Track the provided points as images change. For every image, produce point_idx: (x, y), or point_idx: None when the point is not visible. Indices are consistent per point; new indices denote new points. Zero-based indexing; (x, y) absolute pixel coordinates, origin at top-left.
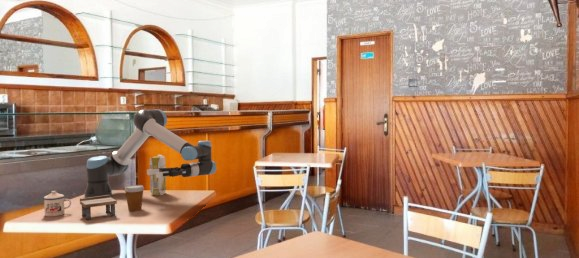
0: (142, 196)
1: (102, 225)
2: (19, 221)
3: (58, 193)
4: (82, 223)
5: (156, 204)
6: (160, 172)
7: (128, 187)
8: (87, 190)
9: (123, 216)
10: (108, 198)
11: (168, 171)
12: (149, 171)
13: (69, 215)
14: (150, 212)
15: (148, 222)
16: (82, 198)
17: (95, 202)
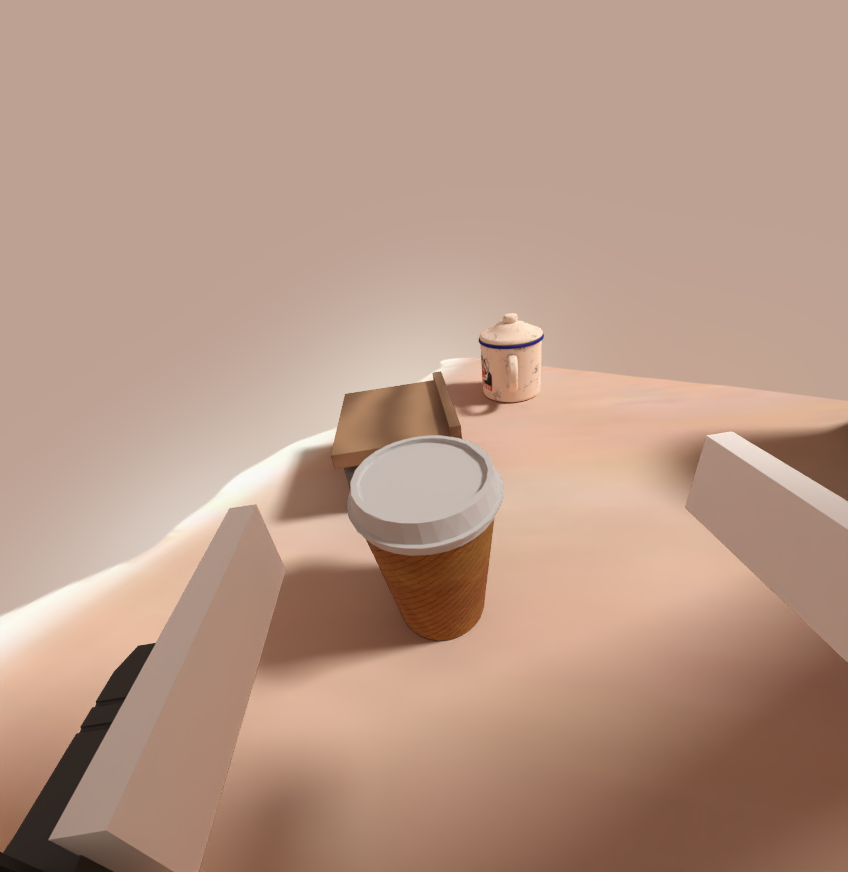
0: (405, 583)
1: (246, 479)
2: (464, 363)
3: (510, 328)
4: (329, 442)
5: (587, 832)
6: (198, 574)
7: (436, 451)
8: None
9: (318, 538)
10: (417, 432)
11: (49, 835)
12: (726, 483)
13: (474, 413)
14: (283, 683)
15: (79, 624)
16: (435, 375)
17: (360, 408)
